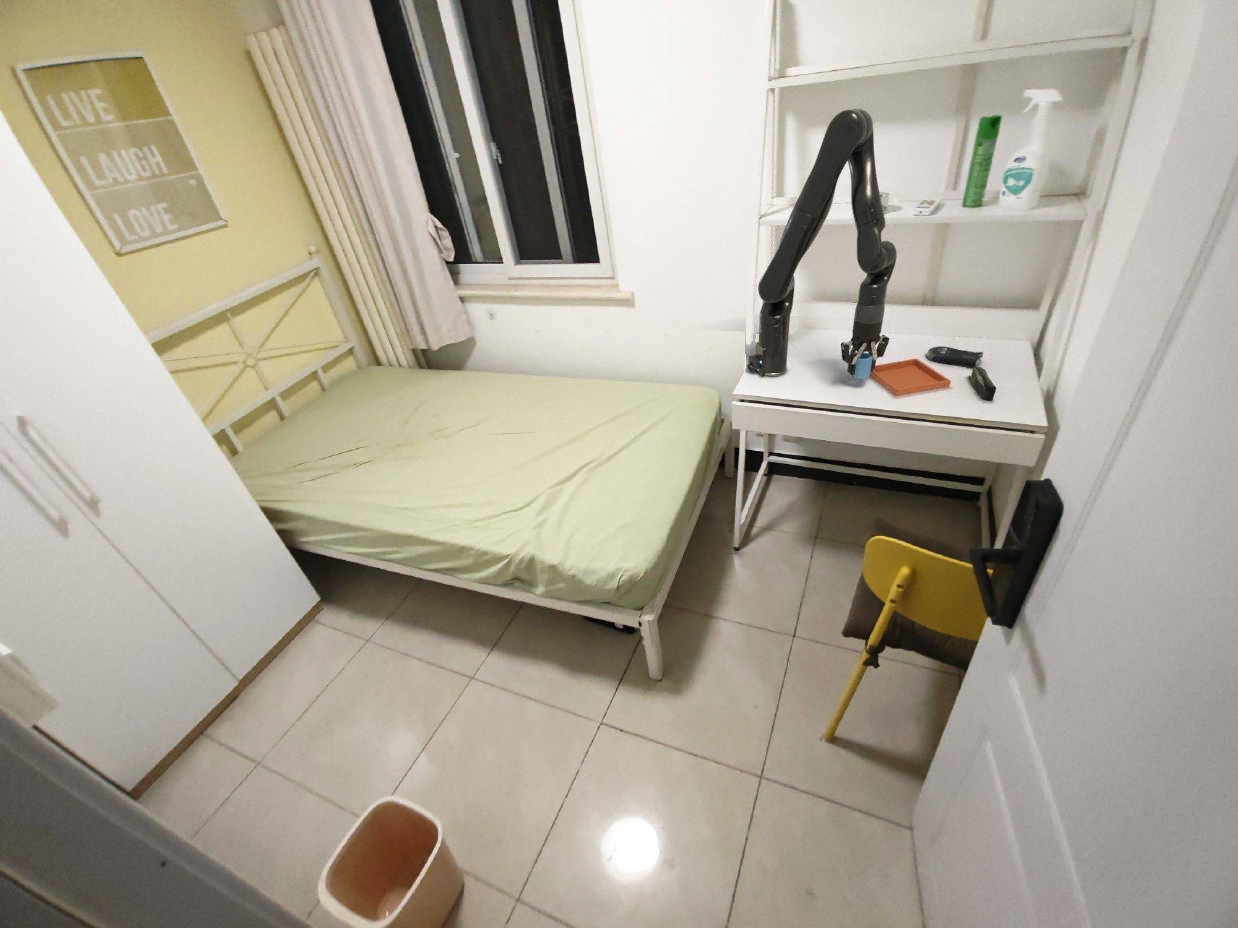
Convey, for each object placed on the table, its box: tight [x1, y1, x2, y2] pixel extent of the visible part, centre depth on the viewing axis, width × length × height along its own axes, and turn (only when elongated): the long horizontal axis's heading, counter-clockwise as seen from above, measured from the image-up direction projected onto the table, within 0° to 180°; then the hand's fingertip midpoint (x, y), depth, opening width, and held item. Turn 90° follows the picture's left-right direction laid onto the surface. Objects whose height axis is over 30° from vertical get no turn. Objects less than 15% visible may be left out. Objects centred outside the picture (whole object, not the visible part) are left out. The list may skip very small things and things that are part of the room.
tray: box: [869, 358, 952, 397], centre depth 169 cm, size 17×17×2 cm
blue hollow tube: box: [850, 352, 873, 380], centre depth 165 cm, size 5×5×6 cm
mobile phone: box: [967, 366, 997, 402], centre depth 159 cm, size 5×3×15 cm
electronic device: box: [926, 345, 984, 368], centre depth 176 cm, size 9×6×15 cm
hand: (860, 372), depth 166 cm, fingers closed on blue hollow tube, 5 cm apart
